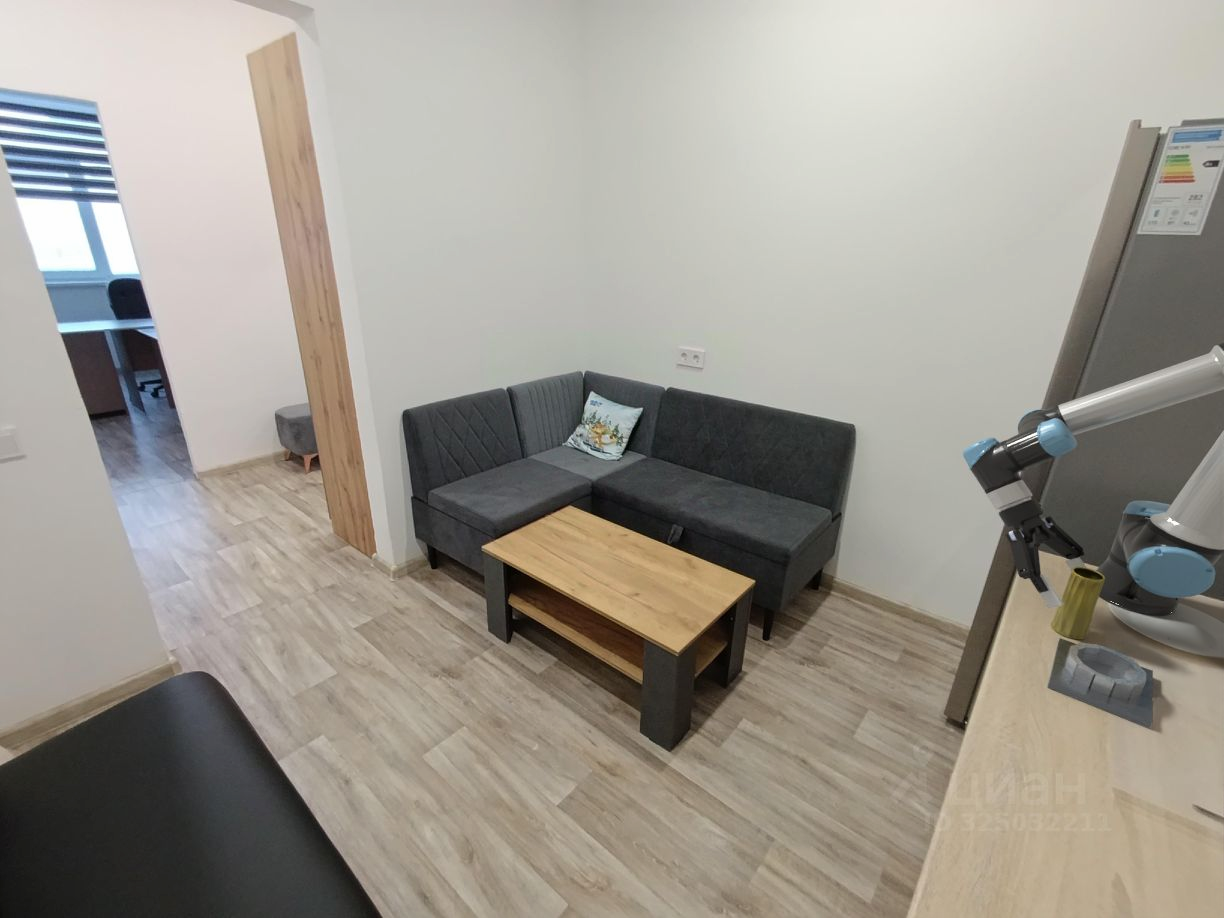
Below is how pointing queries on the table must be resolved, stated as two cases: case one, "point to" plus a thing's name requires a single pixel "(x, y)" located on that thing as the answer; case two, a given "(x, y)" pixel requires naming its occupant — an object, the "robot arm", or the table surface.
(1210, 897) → the table surface
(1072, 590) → the vase
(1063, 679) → the collar stand
